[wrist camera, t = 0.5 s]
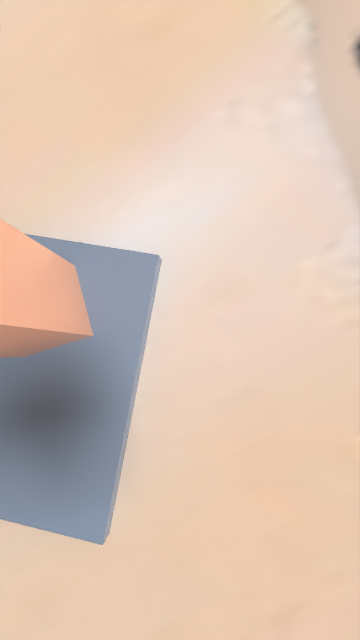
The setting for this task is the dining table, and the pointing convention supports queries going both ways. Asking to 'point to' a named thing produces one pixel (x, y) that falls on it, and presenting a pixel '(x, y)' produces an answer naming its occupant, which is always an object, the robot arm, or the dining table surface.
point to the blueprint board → (77, 400)
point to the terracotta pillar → (37, 297)
